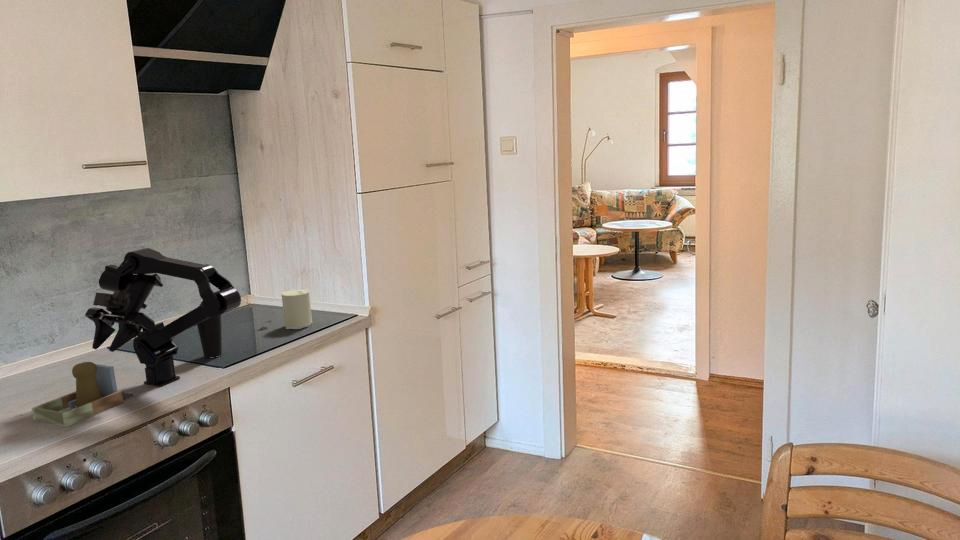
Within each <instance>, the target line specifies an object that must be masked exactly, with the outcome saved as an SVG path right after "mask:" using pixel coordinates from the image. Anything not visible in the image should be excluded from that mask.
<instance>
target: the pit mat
mask: <svg viewBox="0 0 960 540" xmlns="http://www.w3.org/2000/svg"><path fill="white" fill-rule="evenodd" d="M133 395H134V396H135V394H134V393H129V392H124V391H122V398H123V401H125V400H126V398H127V399H129V398H131V396H132V397H134V396H133Z"/></svg>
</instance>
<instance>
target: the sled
mask: <svg viewBox="0 0 960 540" xmlns="http://www.w3.org/2000/svg"><path fill="white" fill-rule="evenodd" d="M94 364H95V365H96V367H97V373H96V375H95V376H96V379H97V382H98V385H99V388H100V391H101V394H102V398H103V397H105V396H108V395H110V394H113V393H115V392H117V391H118V389H117V387H118V386H117V379H116V373H115V368H114V366H112V365H103V364H97V363H94ZM68 405H69V408H68V409H75V408H76V399H75V400H73V401H70V402H68Z"/></svg>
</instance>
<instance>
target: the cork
mask: <svg viewBox="0 0 960 540" xmlns="http://www.w3.org/2000/svg"><path fill="white" fill-rule="evenodd" d="M95 364H96V363H95V362H92V361H84V362H80V363H77V364H75V365H74V366H73V367H72V370H71V374H72V376H73V377H74V378H75V391H76V407H75V408H78V407H80V406H83V405H85V404H88V403H90V402H93V401H95V400H98V399H100V398H102V394H101V391H100V388H99V385H98V382H97V379H96V376H95V375H96V373H97V367H96V365H95Z"/></svg>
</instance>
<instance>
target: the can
mask: <svg viewBox="0 0 960 540" xmlns="http://www.w3.org/2000/svg"><path fill="white" fill-rule="evenodd" d="M310 292H311V291H310V290H309V289H305V288H304V289H299V288H298V289H291V290H285V291H283V292H281V294H280V295H281V302H282V310H283V311H282V312H283V313H282V314H283V319H284V320H283V323H284V326H286V327H302V326H307V325H310V324H311V323H313V318H312V307H311V296H310Z"/></svg>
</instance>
